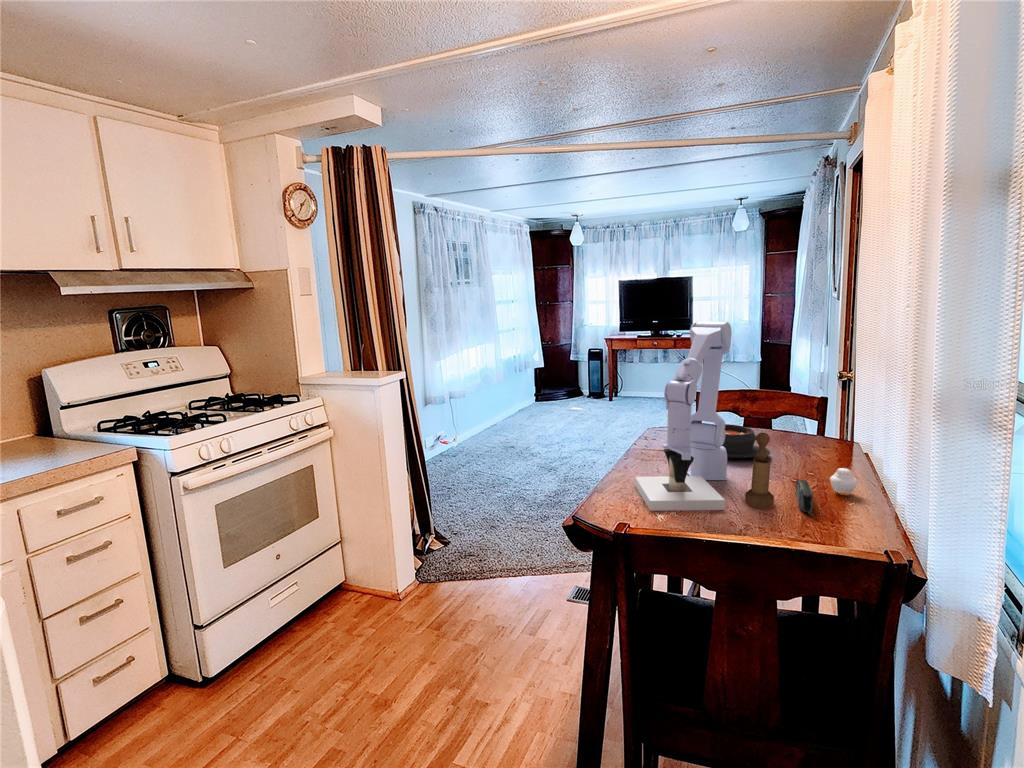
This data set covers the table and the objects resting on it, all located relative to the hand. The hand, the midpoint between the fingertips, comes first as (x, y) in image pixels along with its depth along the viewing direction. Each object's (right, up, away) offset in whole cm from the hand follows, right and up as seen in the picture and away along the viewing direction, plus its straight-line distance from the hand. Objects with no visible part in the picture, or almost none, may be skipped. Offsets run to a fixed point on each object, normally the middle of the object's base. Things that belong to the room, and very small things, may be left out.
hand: (677, 479), depth 143 cm
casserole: (+28, +1, +38) cm, 47 cm away
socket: (0, -5, +1) cm, 5 cm away
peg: (0, -3, +1) cm, 3 cm away
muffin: (+43, -4, +1) cm, 43 cm away
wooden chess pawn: (+19, -5, -4) cm, 20 cm away
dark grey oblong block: (+29, -6, -6) cm, 30 cm away
